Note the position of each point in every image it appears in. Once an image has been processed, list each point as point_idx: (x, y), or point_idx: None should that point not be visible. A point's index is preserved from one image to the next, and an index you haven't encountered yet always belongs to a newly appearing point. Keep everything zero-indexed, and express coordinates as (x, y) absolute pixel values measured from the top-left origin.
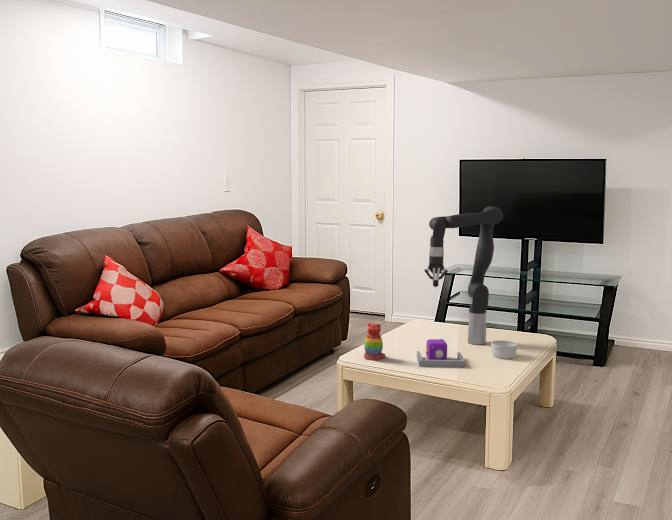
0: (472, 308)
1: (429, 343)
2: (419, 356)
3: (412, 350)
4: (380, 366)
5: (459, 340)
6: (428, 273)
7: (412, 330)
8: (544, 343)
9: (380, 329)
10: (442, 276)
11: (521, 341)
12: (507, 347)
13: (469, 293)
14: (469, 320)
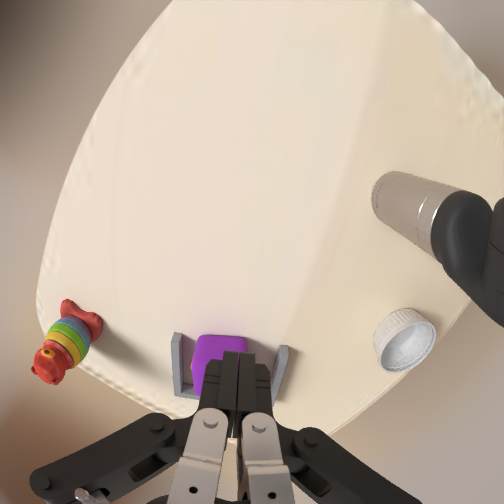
0: (443, 265)
1: (195, 392)
2: (175, 376)
3: (166, 274)
4: (105, 373)
5: (354, 159)
6: (115, 492)
7: (213, 13)
8: None
9: (62, 375)
10: (316, 482)
11: (490, 201)
12: (396, 372)
13: (495, 252)
14: (410, 222)
